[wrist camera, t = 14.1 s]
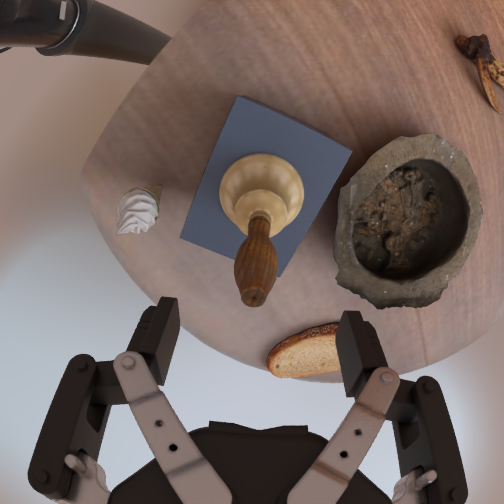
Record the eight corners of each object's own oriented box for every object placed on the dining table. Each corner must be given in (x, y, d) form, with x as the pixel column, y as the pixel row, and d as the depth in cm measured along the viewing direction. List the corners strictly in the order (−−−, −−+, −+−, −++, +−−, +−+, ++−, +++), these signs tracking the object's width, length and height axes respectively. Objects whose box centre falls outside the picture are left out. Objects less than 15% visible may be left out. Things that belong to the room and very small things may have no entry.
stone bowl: (316, 284, 47) (325, 320, 39) (323, 121, 36) (338, 123, 28) (444, 279, 45) (468, 308, 37) (468, 140, 34) (504, 150, 26)
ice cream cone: (178, 203, 41) (141, 258, 28) (145, 202, 41) (99, 255, 28) (176, 169, 39) (134, 211, 26) (143, 169, 39) (90, 211, 26)
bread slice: (260, 366, 58) (259, 381, 55) (297, 306, 50) (299, 321, 47) (334, 381, 61) (336, 394, 58) (379, 328, 52) (384, 342, 49)
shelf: (199, 201, 41) (179, 237, 31) (244, 95, 33) (237, 95, 24) (276, 234, 43) (279, 277, 34) (329, 135, 36) (352, 151, 26)
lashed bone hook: (443, 71, 29) (514, 129, 31) (460, 71, 25) (530, 136, 27) (456, 24, 24) (526, 87, 26) (473, 21, 20) (543, 91, 22)
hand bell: (233, 239, 31) (210, 360, 18) (208, 165, 27) (152, 247, 14) (310, 222, 30) (345, 337, 16) (293, 143, 26) (329, 205, 12)
